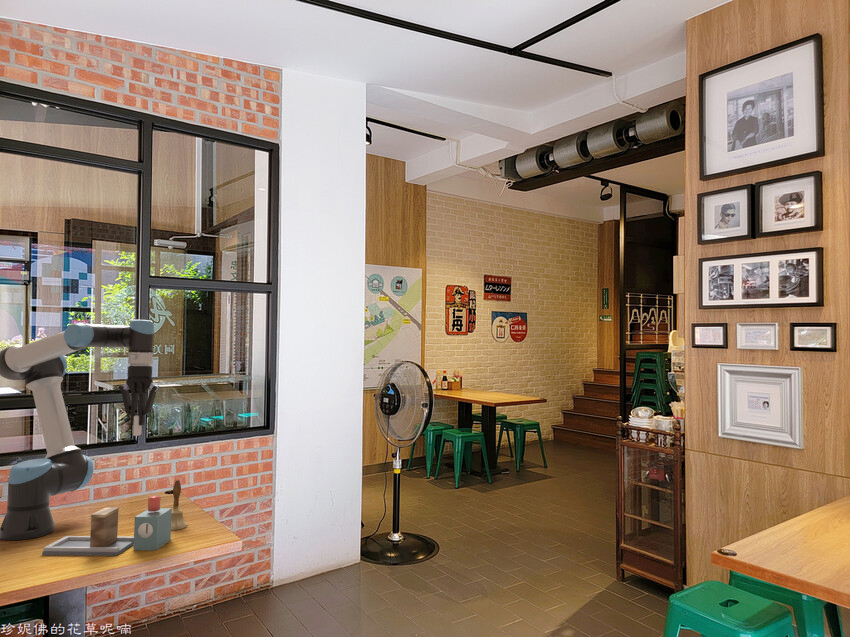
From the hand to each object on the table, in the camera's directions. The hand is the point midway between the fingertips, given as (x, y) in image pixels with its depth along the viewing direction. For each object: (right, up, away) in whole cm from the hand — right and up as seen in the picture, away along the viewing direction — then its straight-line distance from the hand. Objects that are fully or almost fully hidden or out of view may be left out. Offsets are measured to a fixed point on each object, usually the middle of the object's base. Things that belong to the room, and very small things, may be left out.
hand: (137, 435), depth 195 cm
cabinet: (+12, -32, -14) cm, 36 cm away
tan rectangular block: (-1, -30, -18) cm, 35 cm away
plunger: (+12, -21, -13) cm, 28 cm away
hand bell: (+10, -33, +5) cm, 35 cm away
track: (-5, -31, -18) cm, 36 cm away
